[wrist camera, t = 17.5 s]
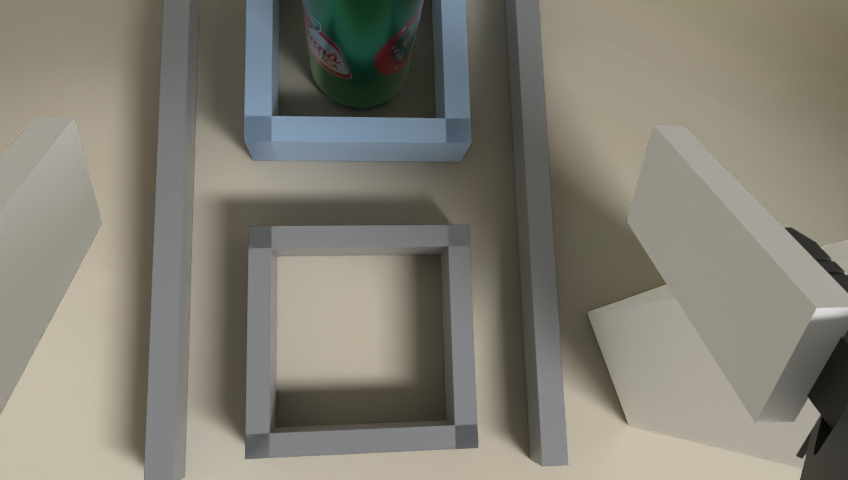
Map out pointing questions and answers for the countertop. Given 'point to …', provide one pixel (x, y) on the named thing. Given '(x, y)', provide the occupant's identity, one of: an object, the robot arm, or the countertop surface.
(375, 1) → the soda can
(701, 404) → the milk
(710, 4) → the countertop surface
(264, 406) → the grey railed frame
